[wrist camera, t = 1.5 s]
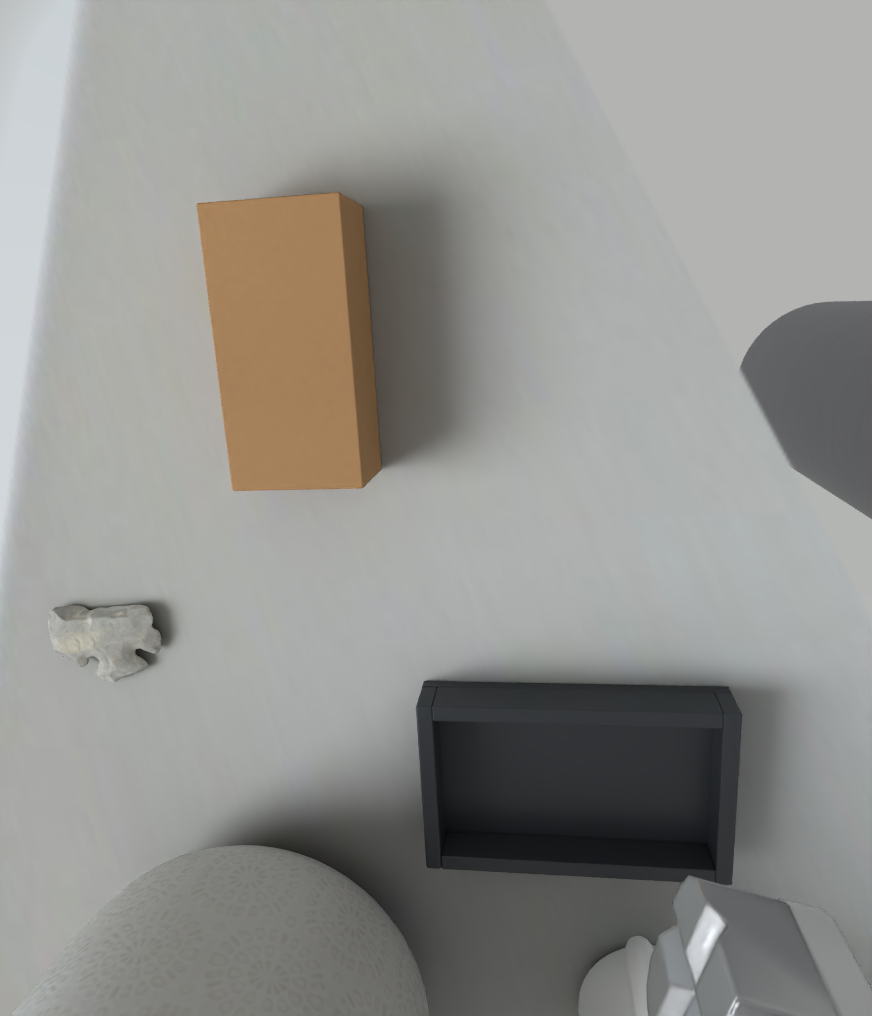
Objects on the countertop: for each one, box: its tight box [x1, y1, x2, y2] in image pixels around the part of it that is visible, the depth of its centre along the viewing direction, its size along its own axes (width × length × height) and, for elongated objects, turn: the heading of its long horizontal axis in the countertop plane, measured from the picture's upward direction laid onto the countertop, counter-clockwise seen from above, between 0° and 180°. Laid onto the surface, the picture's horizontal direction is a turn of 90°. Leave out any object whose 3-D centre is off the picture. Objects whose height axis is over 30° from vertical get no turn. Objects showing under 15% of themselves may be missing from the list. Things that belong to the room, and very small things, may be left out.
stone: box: [48, 604, 161, 682], centre depth 40 cm, size 6×1×5 cm
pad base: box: [416, 681, 742, 885], centre depth 38 cm, size 15×9×3 cm, turn 93°
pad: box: [197, 192, 382, 491], centre depth 33 cm, size 6×12×4 cm, turn 3°
